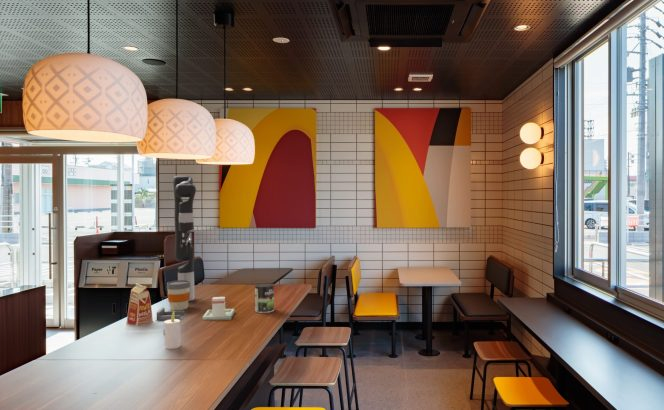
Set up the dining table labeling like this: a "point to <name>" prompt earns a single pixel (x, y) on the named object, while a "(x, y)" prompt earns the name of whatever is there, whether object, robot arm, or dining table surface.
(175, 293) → the reusable coffee cup
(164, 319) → the grey holder
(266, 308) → the coffee can
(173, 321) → the candle
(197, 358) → the dining table surface
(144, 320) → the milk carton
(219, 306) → the white banded brick
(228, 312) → the tray
